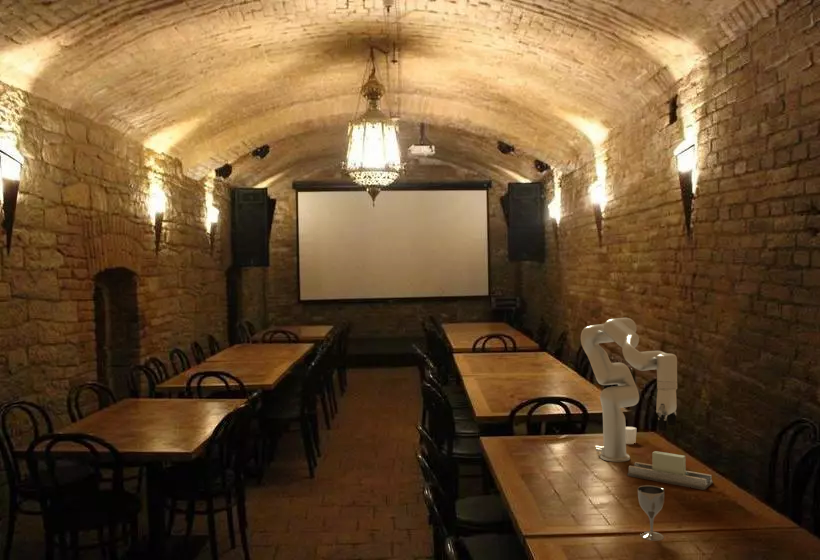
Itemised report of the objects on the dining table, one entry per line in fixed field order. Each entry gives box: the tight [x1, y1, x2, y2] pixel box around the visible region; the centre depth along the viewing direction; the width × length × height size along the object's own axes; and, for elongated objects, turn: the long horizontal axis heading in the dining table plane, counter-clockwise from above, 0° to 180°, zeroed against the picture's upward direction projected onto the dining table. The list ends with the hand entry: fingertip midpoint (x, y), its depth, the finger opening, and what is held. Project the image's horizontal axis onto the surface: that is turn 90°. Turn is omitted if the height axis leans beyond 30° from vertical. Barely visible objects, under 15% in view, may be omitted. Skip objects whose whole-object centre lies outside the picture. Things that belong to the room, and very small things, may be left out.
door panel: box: [651, 450, 687, 475], centre depth 271 cm, size 12×3×9 cm, turn 49°
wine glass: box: [637, 484, 665, 542], centre depth 217 cm, size 8×8×15 cm
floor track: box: [626, 461, 714, 491], centre depth 271 cm, size 30×10×4 cm, turn 50°
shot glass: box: [626, 426, 637, 445], centre depth 325 cm, size 7×7×7 cm
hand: (667, 427), depth 271 cm, fingers open, 9 cm apart
